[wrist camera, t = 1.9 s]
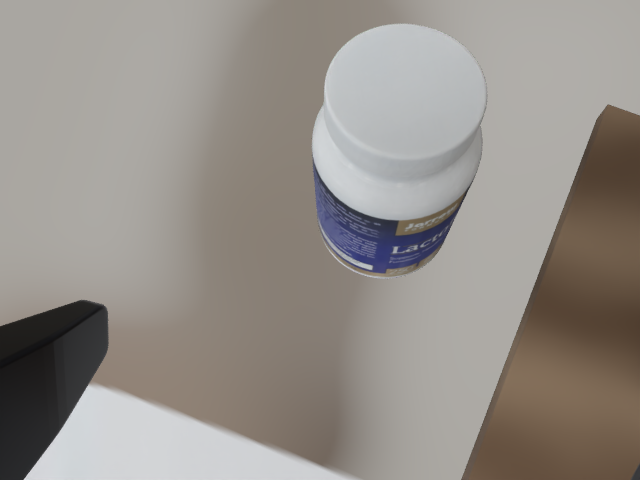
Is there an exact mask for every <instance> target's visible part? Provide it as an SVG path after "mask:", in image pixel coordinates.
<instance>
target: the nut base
mask: <svg viewBox="0 0 640 480" xmlns="http://www.w3.org/2000/svg"><path fill="white" fill-rule="evenodd" d="M639 463H640V116H639V115H636V114H633V113H631V112H628V111H625V110H622V109H619V108H617V107H614V106H611V105H607V106H606V108H605V109H604V110H603V112H602V113H601V114H600V116H599V117H598V118H597V120H596V123H595V125H594V128H593V131H592V133H591V136H590V139H589V141H588V144H587V147H586V149H585V152H584V155H583V157H582V160H581V163H580V166H579V168H578V171H577V173H576V176H575V179H574V181H573V184H572V187H571V189H570V192H569V195H568V197H567V200H566V203H565V205H564V208H563V211H562V213H561V216H560V219H559V222H558V224H557V227H556V229H555V232H554V235H553V237H552V240H551V243H550V245H549V248H548V251H547V253H546V256H545V258H544V261H543V264H542V266H541V269H540V272H539V274H538V277H537V280H536V282H535V285H534V288H533V290H532V293H531V296H530V298H529V301H528V304H527V306H526V309H525V312H524V314H523V317H522V320H521V322H520V325H519V328H518V330H517V333H516V336H515V338H514V341H513V344H512V346H511V349H510V352H509V355H508V357H507V360H506V362H505V365H504V368H503V370H502V373H501V376H500V378H499V381H498V384H497V386H496V389H495V392H494V394H493V397H492V400H491V402H490V405H489V408H488V410H487V413H486V416H485V418H484V421H483V424H482V426H481V429H480V432H479V434H478V437H477V440H476V442H475V445H474V448H473V450H472V453H471V456H470V458H469V461H468V464H467V466H466V469H465V472H464V474H463V477H462V479H461V480H631V478H632V476H633V474H634V472H635V470H636V469H637V467H638V465H639Z"/></svg>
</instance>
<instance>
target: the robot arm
mask: <svg viewBox="0 0 640 480" xmlns="http://www.w3.org/2000/svg"><path fill="white" fill-rule="evenodd" d="M107 349H108V311H107V308H106V307H105V306H104V305H102V304H99V303H95V302H91V301H87V300H80V301H77V302H74V303H71V304H67V305H64V306H61V307H58V308H55V309H52V310H49V311H46V312H43V313H40V314H37V315H33V316H31V317H27V318H24V319H21V320H18V321H15V322H12V323H9V324H6V325H3V326H0V480H24V478H25V477H26V476H27V474H28V473H29V472H30V470H31V469H32V468H33V466H34V465H35V464H36V463H37V461H38V460H39V459H40V457H41V456H42V455H43V453H44V452H45V451H46V449H47V448H48V447H49V445H50V444H51V443H52V441H53V440H54V439H55V437H56V436H57V434H58V433H59V432H60V430H61V429H62V427H63V425H64V424H65V422H66V421H67V419H68V418H69V416H70V414H71V413H72V411H73V409H74V408H75V406H76V404H77V403H78V401H79V399H80V398H81V396H82V394H83V393H84V391H85V389H86V388H87V386H88V384H89V383H90V381H91V379H92V378H93V376H94V374H95V373H96V371H97V369H98V368H99V366H100V364H101V363H102V361H103V359H104V357H105V355H106V353H107ZM631 480H640V463H639V465H638V467H637V469H636V470H635V472H634V474H633V476H632V478H631Z"/></svg>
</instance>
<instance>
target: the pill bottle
mask: <svg viewBox="0 0 640 480" xmlns="http://www.w3.org/2000/svg"><path fill="white" fill-rule="evenodd" d="M486 104H487V86H486V81H485V77H484V74H483V71H482V69H481V67H480V65H479V63H478V62H477V60H476V59H475V57H474V56H473V55H472V54H471V52H470V51H469V50H468V49H467V48H466V47H465V46H463V45H462V44H461V43H460V42H458V41H457V40H456V39H454V38H453V37H451V36H449V35H447V34H445V33H443V32H441V31H439V30H436V29H433V28H430V27H426V26H420V25H414V24H389V25H383V26H379V27H375V28H372V29H369V30H367V31H365V32H363V33H361V34H359V35H357V36H355V37H354V38H352V39H351V40H350V41H348V42H347V43H346V44H345V45H344V46H343V47H342V48H341V49H340V50H339V51H338V53H337V54H336V55H335V57H334V59H333V60H332V62H331V64H330V66H329V69H328V71H327V75H326V79H325V86H324V104H323V106H322V108H321V110H320V112H319V114H318V116H317V119H316V122H315V125H314V130H313V137H312V156H313V170H314V171H313V172H314V180H315V192H316V205H317V218H318V224H319V229H320V233H321V236H322V238H323V241H324V243H325V245H326V246H327V248H328V250H329V251H330V252H331V254H332V255H333V256H334V257H335V258H336V259H337V260H338V261H339V262H340V263H341V264H343V265H344V266H345V267H347V268H349V269H350V270H352V271H354V272H356V273H359V274H361V275H364V276H368V277H373V278H385V279H388V278H397V277H401V276H405V275H408V274H410V273H413V272H415V271H417V270H419V269H420V268H422V267H423V266H425V265H426V264H427V263H428V262H430V261H431V260H432V259H433V258H434V256H435V255H436V254H437V253H438V251H439V250H440V248H441V246H442V244H443V242H444V240H445V238H446V236H447V234H448V232H449V230H450V228H451V226H452V223H453V221H454V219H455V217H456V215H457V213H458V211H459V209H460V207H461V204H462V202H463V200H464V198H465V196H466V194H467V192H468V190H469V188H470V186H471V184H472V182H473V180H474V177H475V175H476V173H477V170H478V167H479V163H480V160H481V155H482V132H481V127H480V124H481V121H482V119H483V115H484V112H485V109H486Z"/></svg>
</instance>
